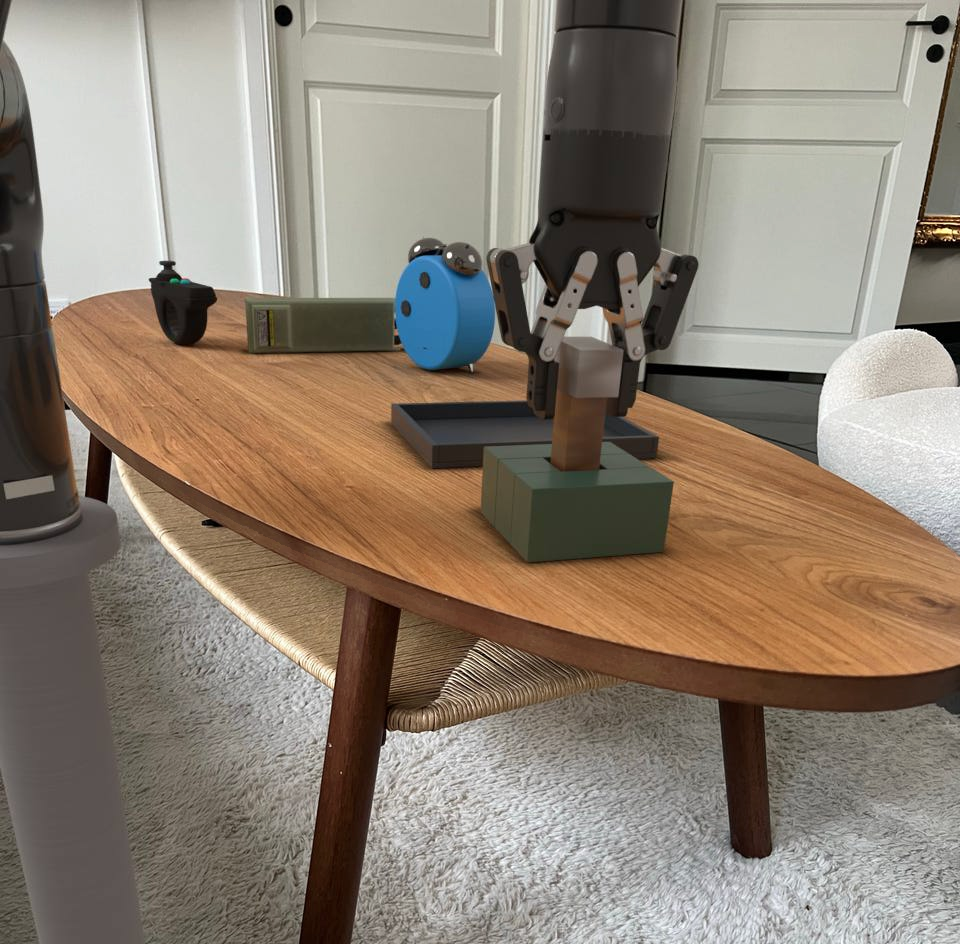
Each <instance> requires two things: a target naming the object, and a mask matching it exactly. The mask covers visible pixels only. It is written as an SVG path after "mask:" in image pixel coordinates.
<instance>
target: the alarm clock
mask: <svg viewBox="0 0 960 944" xmlns="http://www.w3.org/2000/svg"><path fill="white" fill-rule="evenodd" d="M482 258H483V257H482V255H481V254H480V252H479V251H478V250H477V248H476V247H475V246H474V245H472V244H469V243H468V242H465V241H454V242H451V243H450V244H446V243H443V242H442V241H441V240H440V239H438V238H435V237H424V236H423V237H421V238H420V239H418V240H416V241H415V242H414V243H412V245H411V246H410V248H409V250H408V252H407V263H408V264H407V265H406V267H405V268H404V269H403V271H402V273H401V275H400V277H399V280H398V283H397V287H396V289H395V290H396V291H395V297H394V298H395V320H396V325H397V329H396V330H397V335H399V337H400V340H401V343H402V344H401V345H402V347H403V349H404V351H405V353H406V355H407V356H408V357H409V358H410V360H411V361H412V362H413V363H414V364H415V365H417V366H418V367H420V368H421V369H424V370H427V371H436V370H437V371H439V370H445V369H453V368H454V369H457V368H465V367H467V368H468V369H469V371H470V373H473V372H474V367H473V365H474V364H476V363H477V362H478V361H479V360H481V359H482V358H483V356H484V355H485V353H486V352H487V350H488V348H489V346H490V344H491V342H492V339H493V335H494V332H495V324H496V308H495V303H494V297H493V292H492V287H491V282H490V280H489V279H488V277H487V275H486V273H485V272H484V270H483V268H482V267H483V259H482Z"/></svg>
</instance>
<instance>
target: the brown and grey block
mask: <svg viewBox="0 0 960 944" xmlns="http://www.w3.org/2000/svg"><path fill="white" fill-rule="evenodd" d="M622 359H623V350H622V349H620V348H617V347H615V346H613V345H612V344H610V343H608V342H605V341H603V340H600V339H598V338H595V337H593V336H564V337H563V340H562V342H561V345H560V347H559V350H558V353H557V355H556V357H555V359H554V361H556V362H558V363H559V371H558V383H557V395H556V407H555V416H554V425H553V437H552V449H551V461H550V464H551V465H553V466H554V467H555V468H557V469H558V470H559V471H560V472H564V471H584V470H599V466H600V457H601V448H602V439H603V430H604V420H605V411H606V402H607V398H612V397H618V394H619V385H620V376H621V368H622Z"/></svg>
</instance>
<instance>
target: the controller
mask: <svg viewBox="0 0 960 944" xmlns="http://www.w3.org/2000/svg"><path fill="white" fill-rule="evenodd" d="M158 264H159V265H160V266H163V269H162V270H160V272H159V273H157V274H156V276H155V277H150V278H148V282H149V283H150V294H151V297H152V300H153V304H154V308H155V313H156V317H157V322H158V323H159V325H160V328H161V330H162V332H163V333H164V335H165V336H166V338H167V339H168V340H169V341H171V342H172V343H173V344H177V345H193V344H196V343H198V342H199V341H201V339H203V337H204V335H205V334H206V330H207V328H208V327H207V326H208V311H209V308H210V307H212V306H213V305H215V304H216V303H217V302H218V297H217V295H216V291H215V289H214V288H213V286H210V285H206V284H202V283H197V282H194V281H191V279H190V278H187V277H182V276H181V275H180V273H178V272H177V271H176V270H175V269H173V267H174V266H176V264H177V262H176V261H174V260H160V261H158Z"/></svg>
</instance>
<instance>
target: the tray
mask: <svg viewBox="0 0 960 944" xmlns="http://www.w3.org/2000/svg"><path fill="white" fill-rule="evenodd" d="M390 405H391V406H390V410H391V411H390V413H391V414H390V424H391V426H392V427H393V428H394V429H395V430H396V431H397V432H398V433H399V435H401V436H402V437H403V439H404V440H405V441H406V442H407V443H408V444H409V445H410V446H411V447H412V448H413V450H414V451H416V453H417V454H418V455H419V456H420V458H422V460H424V462H426V464H427V465H428V466H429V467H430V468H431V469H451V468H470V467H471V468H473V467H483V452H484V447H487V446H513V445H539V444H552V437H553V425H554V418H553V419H546V420H542V419H541V418H539V417H538V416H536V415H535V414H534V410H533V408H531V407H530V406H528V402H527V399H525V400H521V399H520V400H488V401H486V400H485V401H483V400H482V401H444V402H443V401H441V402H402V403H391V404H390ZM659 441H660V436H659V435H657V434H656V433H653V432H651V431H650V430H648V429H646V428H644V427H642V426H640V425H638V424H637V423H636V422H633V421H631V420H630V419H628V418H626V417H614V416H612V415H610V414H608V413H607V412H606V411H605V420H604V430H603V439H602V442H611V443H612V444H614V445H616V446H617V447H619V448H620V449H622V450H624V451H625V452H627V453H628V454H630V455H632V456H633V457H635V458H636V459H638V460H645V459H646V460H647V459H648V460H649V459H657V457H658V450H659Z"/></svg>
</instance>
